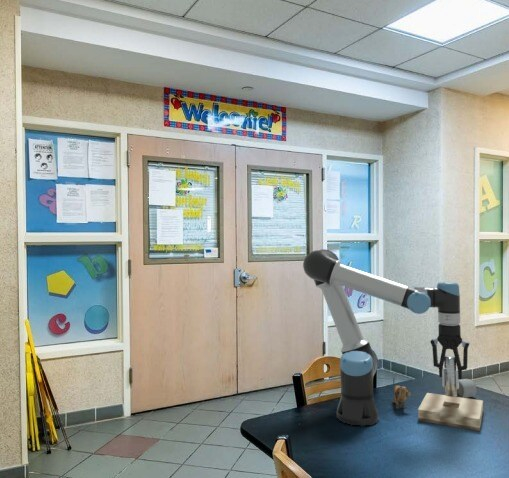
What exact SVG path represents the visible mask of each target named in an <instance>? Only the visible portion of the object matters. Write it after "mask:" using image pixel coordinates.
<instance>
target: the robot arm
mask: <svg viewBox="0 0 509 478" xmlns="http://www.w3.org/2000/svg"><path fill="white" fill-rule="evenodd" d="M302 267H303V270H304V273H305V274H306V276H307V277H308V278H310V279H312V280H313V281H314V283H315V286H316V287H317V288H319V289H321V291H322V295H323V298H324V299H325V303H326V304H327V307H328V309H329V310H328V311H329V312H330V315H331V317H332V321H333V323H334V326H335V329H336V331H337V333H338V336H339V339H340V341H341V344H342V347H341V349H340V352H341V354H342V355H341V357H340V361H339V367H340V368H339V369H340V399H339V401H338V406H337V408H336V418H338V419H339V420H340V421H342V422H345V423H347V424H346V425H348V424H352V425H364V426H363V427H366V426H365V425H370V426H373V425H375V423H376V424H377V423H379V421H378V420H380V419H379V418H380V417H379V416H380V415H379V411H378V409H377V405H376V403H375V399H374V376H375V375H376V372H377V370H378V368H379V367H378V366H379V359H378V356H377V353H376V351H374V350H373V348H372V345H371V343H370V341H369V340H368V339H366V338H364V336H363V334H362V331H361V328H360V326H359V324H358V321H357V318H356V316H355V314H354V312H353V311H354V310H353V307H352V306H351V303H350V300H349V299H348V295H347V293H346V290H345V288H347V289H351V290H353V291H356V292H359V293H362V294H365V295H367V296H371V297H373V298H377V299H379V300H382V301H385V302H388V303H391V304H394V305H397V306H400V307H402V308H404V309H407V310H410V311H411V312H412V313H414V314H416V315H417V314H418V315H421V314H424V313H426V312H428V310H429V309H430V308H437V318H438V319H437V320H438V321H437V322H438V325H437V327H438V336H437V338H432V339H431V340H430V341H429V343H430V344H431V346H432V363H433V367H436V368H438V377H439V378H442V379H441V380H442V383H441V384H442V388H445V369H444V357H445V356H446V354H447V350H452V352H453V355H454V357H455V360H456V389H459V379H460V380H461V379H462V378H463V371H466V370H467V369H468V353H469V352H468V349H469V346H470V342H469V341H465V340H464V339H463V338H462V336H461V334H462V333H461V325H460V324H461V294H460V285H459V283H458V282H455V281H439V282H438V283H437V286H434V287H433V286H432V287H428V286H427V287H425V286H424V287H421V286H407V285H404V284H401V283H398V282H395V281H392V280H389V279H386V278H384V277H380V276H378V275H375V274H371V273H368V272H365V271H362V270H360V269H357V268H353V267H351V266H347V265H345V264H342V263H341V261H340V259H339V256H338V255H337V254H336V253H335V252H333V251H332V250H329V249H320V250H318V249H317V250H313V251H311V252H309V253H307V254H306V256H305V258H304V259H303V263H302ZM438 342H439V344H440V346H441V347H442V348H441V354H440V359H439V360H438ZM460 345H462V347H463V353H462V354H463V355H462V356H463V358H462V359H463V360H462V362H461V358H460V354H459V349H458V348H459V346H460ZM338 419H337V420H338ZM339 420H338V421H339ZM340 421H339V422H340ZM342 422H341V423H342ZM352 425H351V426H352Z"/></svg>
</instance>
